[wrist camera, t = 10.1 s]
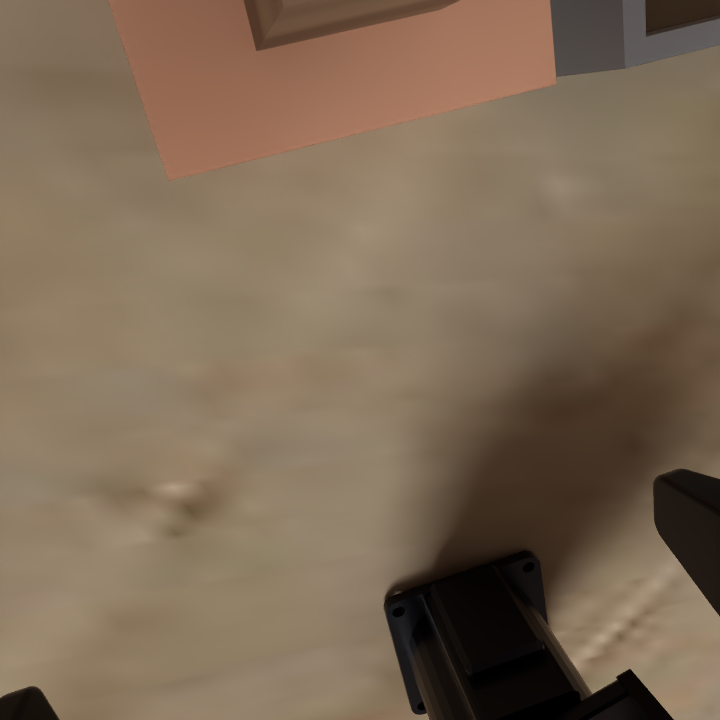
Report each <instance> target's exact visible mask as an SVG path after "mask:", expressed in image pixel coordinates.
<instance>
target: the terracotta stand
mask: <svg viewBox="0 0 720 720" xmlns="http://www.w3.org/2000/svg"><path fill="white" fill-rule="evenodd" d="M108 1H109V4H110V7H111V10H112V13H113V16H114V19H115V22H116V25H117V28H118V31H119V34H120V37H121V40H122V43H123V46H124V49H125V52H126V55H127V58H128V61H129V64H130V67H131V70H132V73H133V76H134V79H135V82H136V85H137V88H138V91H139V94H140V97H141V100H142V103H143V106H144V109H145V112H146V115H147V118H148V121H149V123H150V126H151V129H152V132H153V135H154V138H155V141H156V144H157V147H158V150H159V153H160V156H161V159H162V162H163V165H164V168H165V171H166V174H167V177H168V180H169V181H170V180H174V179H178V178H182V177H186V176H190V175H194V174H198V173H202V172H206V171H210V170H214V169H218V168H222V167H226V166H230V165H234V164H238V163H242V162H246V161H250V160H254V159H258V158H262V157H266V156H270V155H274V154H278V153H282V152H286V151H290V150H294V149H298V148H302V147H306V146H310V145H314V144H319V143H323V142H327V141H331V140H335V139H339V138H343V137H347V136H351V135H355V134H359V133H363V132H367V131H371V130H375V129H379V128H383V127H387V126H391V125H395V124H399V123H403V122H407V121H411V120H415V119H419V118H423V117H427V116H431V115H435V114H439V113H443V112H447V111H451V110H455V109H459V108H463V107H467V106H471V105H475V104H479V103H483V102H487V101H491V100H495V99H499V98H503V97H507V96H511V95H515V94H519V93H523V92H527V91H531V90H535V89H539V88H543V87H547V86H551V85H555V84H557V82H556V70H555V57H554V45H553V32H552V20H551V7H550V0H460V1H458V2H456V3H454V4H451V5H449V6H447V7H445V8H443V9H441V10H438V11H433V12H429V13H424V14H420V15H415V16H411V17H407V18H402V19H398V20H393V21H389V22H384V23H380V24H376V25H371V26H367V27H362V28H358V29H353V30H349V31H345V32H340V33H336V34H331V35H327V36H323V37H318V38H314V39H309V40H305V41H300V42H296V43H292V44H287V45H283V46H278V47H274V48H269V49H265V50H261V51H256V48H255V44H254V40H253V36H252V32H251V28H250V24H249V20H248V16H247V12H246V8H245V5H244V1H243V0H108Z"/></svg>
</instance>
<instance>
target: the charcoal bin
mask: <svg viewBox="0 0 720 720" xmlns="http://www.w3.org/2000/svg"><path fill="white" fill-rule="evenodd" d="M550 7H551V20H552V32H553V45H554V57H555V70H556V77H558V76H567V75H575V74H583V73H591V72H600V71H608V70H616V69H625V68H629V67H633V66H637V65H641V64H645V63H649V62H653V61H657V60H661V59H665V58H669V57H673V56H677V55H681V54H685V53H689V52H693V51H697V50H701V49H705V48H709V47H713V46H717V45H720V15H716V16H712V17H708V18H704V19H700V20H696V21H692V22H687V23H683V24H679V25H675V26H671V27H667V28H663V29H659V30H655V31H650V32H646V11H645V0H550Z"/></svg>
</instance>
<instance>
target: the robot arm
mask: <svg viewBox="0 0 720 720" xmlns="http://www.w3.org/2000/svg"><path fill="white" fill-rule="evenodd" d="M653 496H654V521H655V525H656V528H657V531H658V532H659V534H660V536H661V537H662V539H663V540H664V542H665V543H666V544H667V546H668V547H669V548H670V550H671V551H672V552H673V554H674V555H675V557H676V558H677V559H678V561H679V562H680V563H681V565H682V566H683V567H684V569H685V570H686V571H687V573H688V574H689V576H690V577H691V578H692V580H693V581H694V582H695V584H696V585H697V586H698V588H699V589H700V590H701V592H702V593H703V595H704V596H705V597H706V599H707V600H708V601H709V603H710V604H711V605H712V607H713V608H714V609H715V611H716V612H717V613H718V615H719V616H720V479H718V478H714V477H711V476H707V475H704V474H700V473H697V472H693V471H690V470H686V469H676V470H673V471H670V472H667V473H664V474H661V475H659V476H657V477H656V478H655V480H654V483H653ZM528 562H529V563H528ZM526 563H528V564H527V565H525V564H526ZM524 565H525V566H524ZM397 607H400V608H399V609H397V610H394V609H395V608H397ZM384 611H385V615H386V618H387V622H388V626H389V629H390V633H391V637H392V640H393V644H394V648H395V651H396V655H397V659H398V663H399V666H400V670H401V674H402V677H403V681H404V685H405V688H406V692H407V696H408V699H409V703H410V706H411V709H412V711H413V713H415V714H418V715H422V714H426V713H427V714H428V717H429V720H674V719H673V718H672V717H671V716H670V715H669V714H668V712H667V711H666V710H665V709H664V708H663V707H662V705H661V704H660V703H659V702H658V701H657V700H656V698H655V697H654V696H653V695H652V694H651V693H650V691H649V690H648V689H647V688H646V687H645V686H644V684H643V683H642V682H641V681H640V680H639V679H638V677H637V676H636V675H635V674H634V673H633V672H632V670H631V669H629V670H627V671H625V672H623V673H622V674H620V675H618V676H617V677H616V678H617V680H616V681H614V682H613V683H611V684H609V685H607V686H606V687H604V688H602V689H601V690H599V691H597V692H595V693H594V694H592V692H591V691H590V689H589V688H588V686H587V685H586V683H585V682H584V680H583V679H582V677H581V676H580V674H579V672H578V671H577V669H576V668H575V666H574V665H573V663H572V662H571V660H570V659H569V657H568V656H567V654H566V653H565V651H564V650H563V648H562V647H561V645H560V643H559V642H558V640H557V639H556V637H555V636H554V634H553V633H552V631H551V630H550V628H549V627H548V622H547V614H546V607H545V599H544V591H543V583H542V575H541V567H540V562H539V560H538V558H537V557H536V556H535V554H534V553H532V552H531V551H522V552H519V553H517V554H514V555H511V556H508V557H505V558H502V559H499V560H496V561H493V562H490V563H487V564H484V565H481V566H478V567H475V568H473V569H470V570H467V571H464V572H461V573H458V574H455V575H452V576H449V577H446V578H443V579H440V580H437V581H434V582H431V583H429V584H426V585H423V586H420V587H417V588H414V589H411V590H408V591H405V592H402V593H399V594H396V595H393V596H391V597H390V598H388V599H387V600H386V602H385V604H384ZM0 720H59V718H58V716H57V715H56V713H55V712H54V710H53V708H52V707H51V705H50V704H49V702H48V700H47V699H46V697H45V696H44V694H43V692H42V691H41V690H40V689H39V688H37V687H35V686H30V687H27V688H24V689H21V690H18V691H15V692H12V693H9V694H6V695H4V696H2V697H1V698H0Z"/></svg>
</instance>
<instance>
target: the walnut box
mask: <svg viewBox="0 0 720 720" xmlns="http://www.w3.org/2000/svg"><path fill="white" fill-rule="evenodd" d="M243 1H244V5H245V8H246V12H247V16H248V20H249V24H250V28H251V32H252V36H253V40H254V44H255V48H256V51H261V50H265V49H269V48H274V47H278V46H283V45H287V44H292V43H296V42H300V41H305V40H309V39H314V38H318V37H323V36H327V35H331V34H336V33H340V32H345V31H349V30H353V29H358V28H362V27H367V26H371V25H376V24H380V23H384V22H389V21H393V20H398V19H402V18H407V17H411V16H415V15H420V14H424V13H429V12H433V11H438V10H441V9H443V8H445V7H447V6H449V5H451V4H454V3H456V2H458V1H460V0H243Z"/></svg>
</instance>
